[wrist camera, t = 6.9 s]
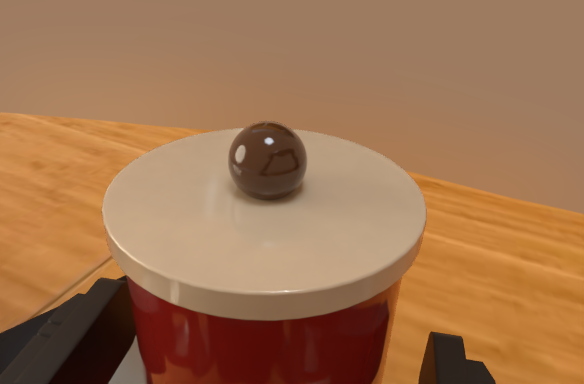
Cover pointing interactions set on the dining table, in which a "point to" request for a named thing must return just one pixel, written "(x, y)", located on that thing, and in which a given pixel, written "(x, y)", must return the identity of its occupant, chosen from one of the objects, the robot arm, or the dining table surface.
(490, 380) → the robot arm
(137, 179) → the lidded canister
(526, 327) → the dining table surface
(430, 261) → the dining table surface
